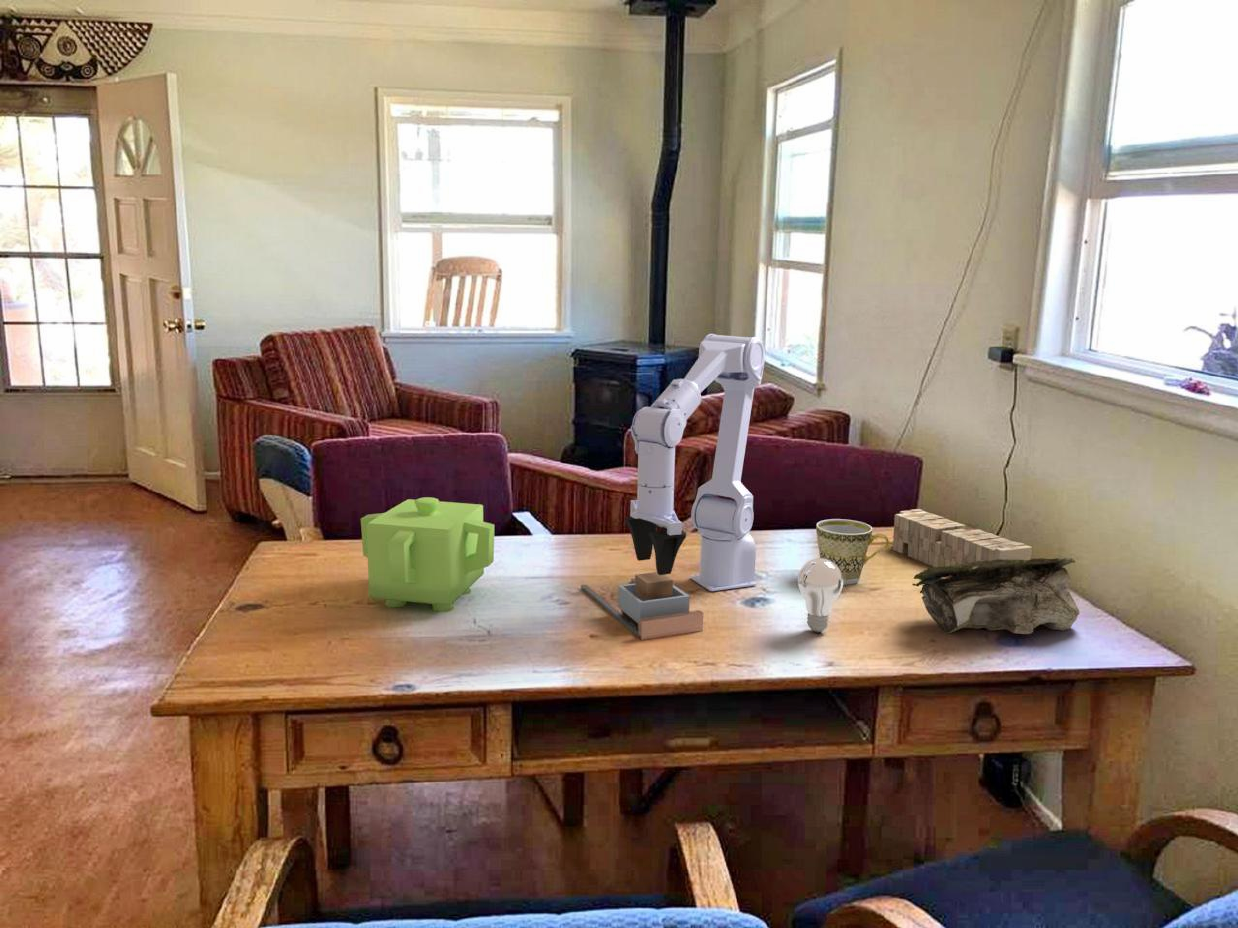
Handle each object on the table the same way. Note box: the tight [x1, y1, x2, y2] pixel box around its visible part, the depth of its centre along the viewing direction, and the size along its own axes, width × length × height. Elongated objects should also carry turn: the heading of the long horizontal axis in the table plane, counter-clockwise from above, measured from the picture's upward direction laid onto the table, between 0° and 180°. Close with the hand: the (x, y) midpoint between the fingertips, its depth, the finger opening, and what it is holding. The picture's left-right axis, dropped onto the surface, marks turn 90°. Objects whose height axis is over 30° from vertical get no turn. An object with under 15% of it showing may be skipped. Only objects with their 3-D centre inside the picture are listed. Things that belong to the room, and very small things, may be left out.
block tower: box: [892, 508, 1033, 567], centre depth 192 cm, size 8×8×29 cm
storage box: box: [360, 496, 495, 613], centre depth 169 cm, size 25×23×17 cm
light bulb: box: [797, 557, 844, 634], centre depth 157 cm, size 7×7×12 cm
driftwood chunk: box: [911, 557, 1081, 635], centre depth 159 cm, size 28×13×15 cm
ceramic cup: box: [815, 518, 890, 586], centre depth 182 cm, size 13×10×10 cm
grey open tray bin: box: [617, 583, 691, 627], centre depth 162 cm, size 9×9×5 cm
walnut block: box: [635, 571, 674, 601], centre depth 161 cm, size 4×4×5 cm
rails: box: [580, 578, 704, 641], centre depth 167 cm, size 11×25×3 cm, turn 24°
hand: (653, 566), depth 161 cm, fingers open, 7 cm apart
